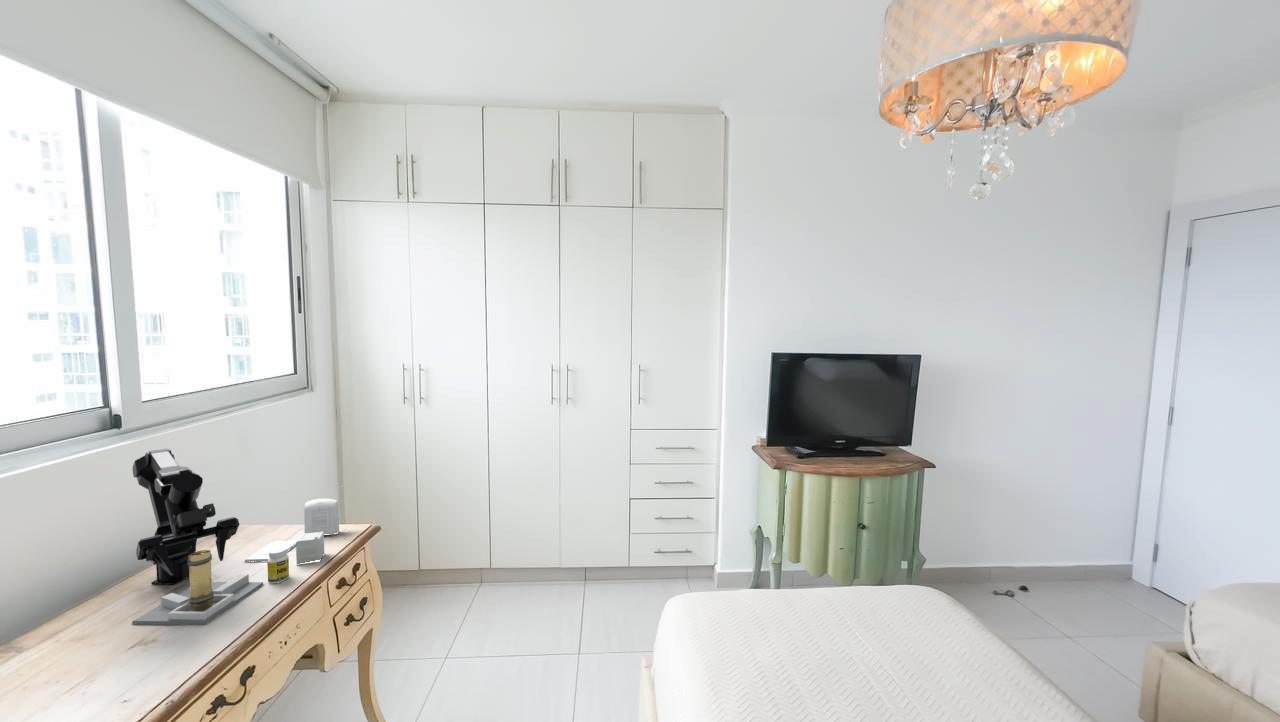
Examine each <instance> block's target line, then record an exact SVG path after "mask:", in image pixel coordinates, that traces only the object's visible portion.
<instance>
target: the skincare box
mask: <svg viewBox="0 0 1280 722" xmlns="http://www.w3.org/2000/svg"><path fill="white" fill-rule="evenodd" d="M295 541H296V546H295V549H296V550H295V552H296V553H295V556H296V557H295V558H296V560H295V561H296V565H297V564H300V563H305V562H310V561H315V560H320V559H321V558H322V559H323V557H324V555H325V536H324V532H315V533H305V532H304V533H301V534H300V535H299V536H298V537H297V539H296V540H295ZM323 554H324V555H323ZM322 556H323V557H322ZM322 559H321V560H322Z"/></svg>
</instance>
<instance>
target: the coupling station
mask: <svg viewBox="0 0 1280 722" xmlns="http://www.w3.org/2000/svg"><path fill="white" fill-rule="evenodd" d="M249 579H250V578H249V574H247V573H246V574H245V573H243V574H241V573H240V574H238V575H236V576H235V577H233V578H232V579H230V580H228V581H212V591H213V593H214V597H213V606H212V607H210V608H209V609H207V610H206V611H204V612H197V611H191V604H190V601H189V598H190V587H188V589H185V590H184V591H182V592H180V593H173V592H170V593H167V594H166V595H164V596H161V597H160V600H161V601H160V602H161V603H160V604H159V605H158V606H156V607H154V608H152V609H150V610H149V611H147V612H145V613H143V614H141V615H140V616H139V617H136V618H134V619H133V620H132V622H131V625H176V626H177V625H178V626H179V625H185V626H187V625H189V626H190V625H193V626H194V625H195V626H196V625H197V626H202V625H203V626H204V625H207V624H208V623H210V622H211V621H212V620H214V619H215V618H217V617H219V616H220V615H221V614H224V612H226V611H228V610H229V609H230V608H232V607H234V606H235V605H236V604H238V603H239V602H241V601H242V600H243V598H244V599H245V598H246V596H247V597H248V596H249V595H251V594H253V593H254V592H255V591H257V590H258V589H260V588H261V587H263V586H264V582H263V581H258V582H257V581H249ZM262 585H263V586H262ZM240 600H241V601H240ZM237 602H238V603H237ZM218 615H219V616H218Z"/></svg>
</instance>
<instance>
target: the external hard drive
mask: <svg viewBox="0 0 1280 722" xmlns="http://www.w3.org/2000/svg"><path fill="white" fill-rule="evenodd" d="M296 541H297V540H275V541H272V542H270V543H268V544H267V545H266V546H264V547H262V548H261V549H259V550H258V551H256V552H255V553H253V554H252V555H250V556H248V557H247V558H246V559H244V563H252V562H251V561H254V562H253V563H256V562H255V561H268V559H269V551H271V550H272V549H275V548H280V547H285V548H287V551H288V550H289V549H291V548H292V547H293V546H295V545H296ZM295 547H296V546H295ZM292 549H293V548H292ZM292 549H291V550H292ZM288 552H289V551H288ZM249 561H250V562H249Z"/></svg>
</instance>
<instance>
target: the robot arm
mask: <svg viewBox="0 0 1280 722" xmlns="http://www.w3.org/2000/svg"><path fill="white" fill-rule="evenodd" d="M132 475H133V478H136V480H137V483H138V485H139V486H141V487H143V488H144V489H146V490H148V495H149V498H150V499H149V500H150V501H151V502H150V503H151V507H152V510H153V513H154V517H155V521H156V526H157V528H156V531H155V532H154V535H153V536H148V537H144V538H141V539H140V540H139V541H138V542H137V544H136V545H137V546H136V551H135V553H136V559H137V560H138V561H142V560H145V561H146V562H151V563H152V565H154V566H156V579H155V580H153V581H151V585H176V584H178V583H180V582H182V581H183V580H185V579H187V578H189V565H188V559H189V557H188V556H189V555H190V554H191V553H194V552H197V541H198V539H201V538H205V537H210V536H215V538H216V540H215V545H216V550H217V555H218V559H219V561H220V562H223V560H224V555H225V549H226V543H227V541H228V540H230V539H231V538H232V537H233V536H235V535H236V534H237V532H238V529H239V526H240V522H239V519H238V518H236V517H235V516H233V517H227V518H224V519H219V520H217V522H216V526H215V525H214V526H211V527H207V528H204V527H206V526H207V521H208V518H212V517H215V516H216V513H217V512H216V508H215V504H214V502H212V503H209V504H204V505H203V506H202V508H199V507H198V506H199V505H198V502H197V499H198V498H199V495H200V492H201V489H202V486H203V482H204V481H203V479H204V478H203V477H202V476H201V475H199V474H197V473H195V472H193V470H192V469H191V468H190V467H188V466H181V465H179V464H178V461H176V459H175V455H174V454H173V453H172V450H171V449H170V448H169V449H168V448H163V449H155V450H149V451H147V452H145V454H144V455H143V456H141V457H138V458H137V459H136V460H134V461H133V465H132Z"/></svg>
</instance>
